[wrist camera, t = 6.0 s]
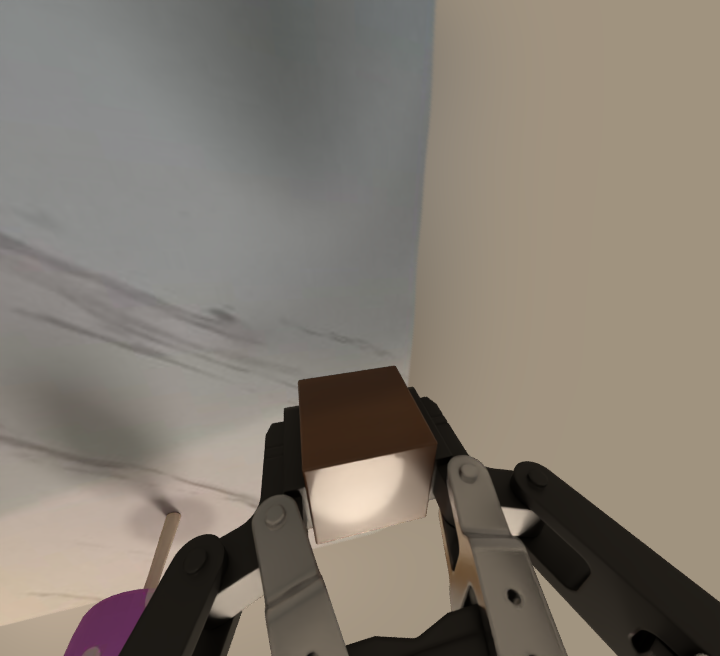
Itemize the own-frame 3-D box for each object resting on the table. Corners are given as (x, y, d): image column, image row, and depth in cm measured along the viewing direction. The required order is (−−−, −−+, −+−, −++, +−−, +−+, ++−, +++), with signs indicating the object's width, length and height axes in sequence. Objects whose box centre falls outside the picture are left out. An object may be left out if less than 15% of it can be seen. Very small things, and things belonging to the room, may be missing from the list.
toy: (213, 535, 28) (150, 847, 15) (130, 541, 26) (-24, 911, 13) (217, 490, 25) (145, 823, 12) (125, 493, 23) (-77, 900, 10)
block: (297, 379, 11) (302, 471, 8) (395, 364, 12) (438, 442, 9) (308, 448, 13) (316, 546, 10) (392, 432, 14) (426, 517, 11)
